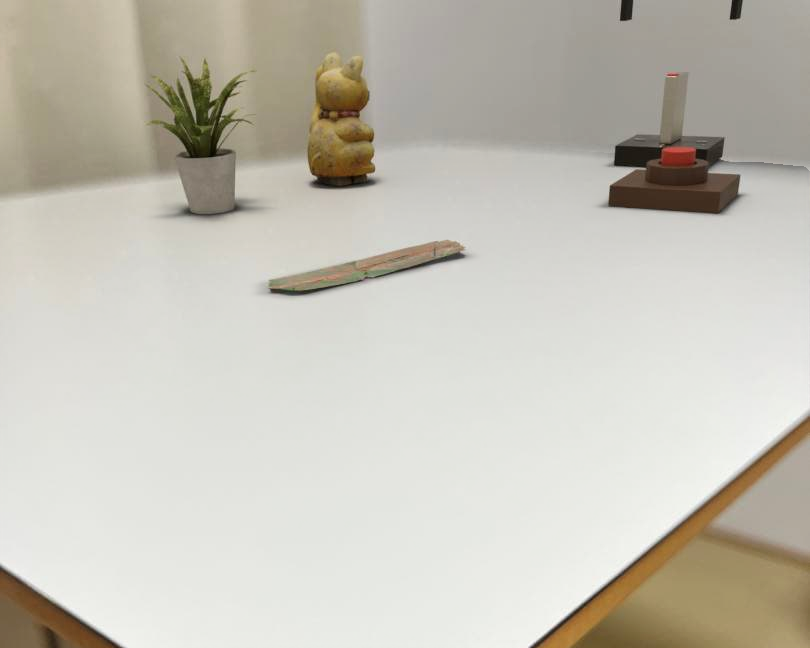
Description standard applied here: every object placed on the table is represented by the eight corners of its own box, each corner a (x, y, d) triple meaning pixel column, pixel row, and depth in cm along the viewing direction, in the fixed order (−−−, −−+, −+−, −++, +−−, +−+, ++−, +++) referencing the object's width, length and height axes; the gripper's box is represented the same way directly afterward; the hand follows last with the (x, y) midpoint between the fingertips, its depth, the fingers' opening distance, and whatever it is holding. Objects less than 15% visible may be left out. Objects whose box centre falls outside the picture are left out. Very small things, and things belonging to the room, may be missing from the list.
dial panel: (722, 156, 128) (725, 135, 126) (704, 169, 120) (707, 147, 119) (635, 153, 133) (637, 132, 131) (613, 165, 125) (615, 144, 124)
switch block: (737, 194, 107) (743, 157, 105) (717, 213, 99) (723, 173, 97) (634, 188, 112) (637, 152, 110) (608, 206, 104) (610, 168, 102)
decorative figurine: (388, 180, 122) (383, 51, 114) (344, 192, 117) (335, 57, 109) (336, 174, 128) (327, 50, 120) (291, 184, 123) (279, 55, 115)
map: (257, 291, 83) (255, 281, 82) (441, 239, 92) (440, 229, 92) (285, 304, 79) (283, 293, 79) (473, 248, 89) (473, 238, 88)
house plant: (291, 215, 107) (275, 54, 98) (168, 230, 103) (141, 63, 94) (263, 193, 118) (247, 47, 110) (152, 205, 114) (126, 55, 106)
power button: (697, 164, 104) (699, 147, 103) (689, 170, 102) (691, 152, 101) (665, 162, 106) (667, 146, 105) (656, 168, 103) (658, 151, 102)
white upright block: (670, 137, 127) (676, 70, 123) (681, 137, 127) (689, 70, 123) (658, 143, 123) (665, 74, 119) (671, 144, 123) (678, 74, 118)
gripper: (584, -187, 109) (573, 22, 120) (813, -211, 98) (778, 20, 109) (604, -180, 114) (592, 19, 125) (823, -203, 104) (788, 16, 115)
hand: (679, 20), depth 117 cm, fingers open, 13 cm apart
